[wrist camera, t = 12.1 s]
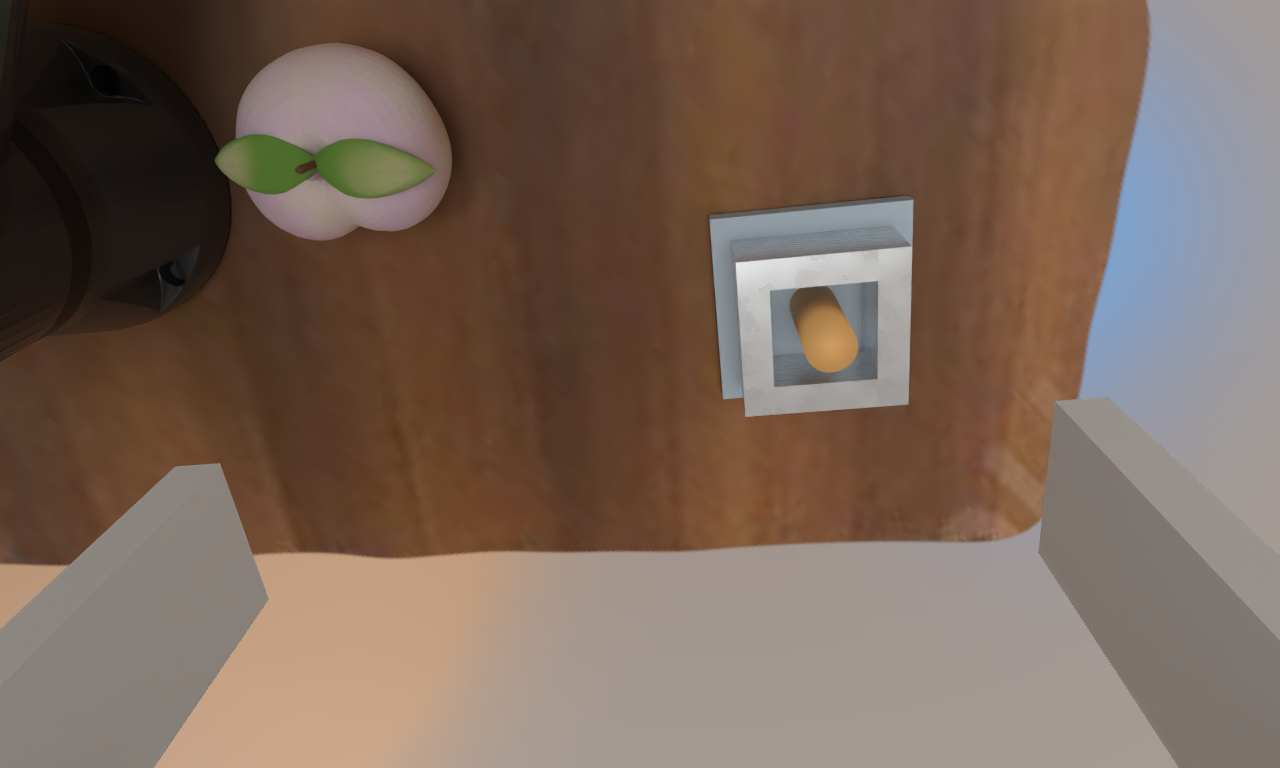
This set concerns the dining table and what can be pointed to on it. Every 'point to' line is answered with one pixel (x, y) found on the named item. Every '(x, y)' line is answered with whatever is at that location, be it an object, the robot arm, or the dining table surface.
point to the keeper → (799, 315)
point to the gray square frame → (823, 262)
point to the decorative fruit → (338, 144)
